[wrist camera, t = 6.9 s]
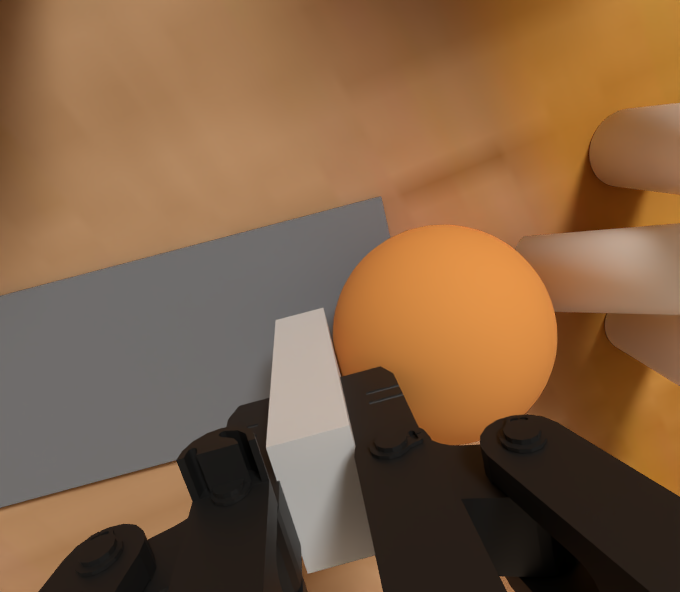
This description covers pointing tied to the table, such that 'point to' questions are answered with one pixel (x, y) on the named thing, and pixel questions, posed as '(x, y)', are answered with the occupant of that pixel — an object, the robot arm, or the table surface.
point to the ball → (449, 327)
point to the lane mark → (159, 347)
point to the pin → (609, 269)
